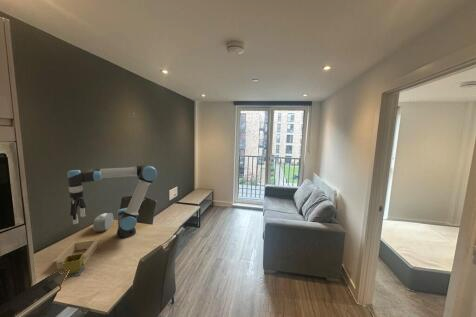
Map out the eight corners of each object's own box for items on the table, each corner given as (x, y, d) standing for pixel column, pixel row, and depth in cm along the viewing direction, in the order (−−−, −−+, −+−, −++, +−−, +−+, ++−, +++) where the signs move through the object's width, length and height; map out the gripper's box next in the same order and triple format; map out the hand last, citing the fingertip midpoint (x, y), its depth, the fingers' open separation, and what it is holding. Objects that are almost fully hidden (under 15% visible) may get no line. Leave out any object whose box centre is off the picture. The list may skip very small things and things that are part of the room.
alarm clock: (102, 224, 198) (101, 211, 197) (113, 223, 201) (112, 210, 199) (93, 234, 178) (92, 219, 177) (105, 232, 181) (104, 218, 179)
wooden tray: (101, 245, 159) (100, 238, 159) (85, 266, 133) (85, 257, 132) (73, 249, 154) (72, 241, 153) (51, 271, 128) (50, 263, 127)
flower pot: (63, 277, 121) (61, 263, 120) (67, 269, 129) (66, 256, 128) (81, 273, 125) (79, 259, 124) (84, 265, 133) (83, 252, 132)
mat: (85, 267, 132) (85, 266, 132) (79, 275, 124) (79, 274, 124) (69, 270, 129) (68, 269, 129) (62, 278, 122) (62, 277, 122)
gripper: (77, 188, 155) (80, 214, 157) (61, 197, 132) (65, 228, 134) (88, 187, 157) (91, 213, 160) (75, 195, 134) (79, 226, 136)
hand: (79, 220), depth 147 cm, fingers open, 13 cm apart
